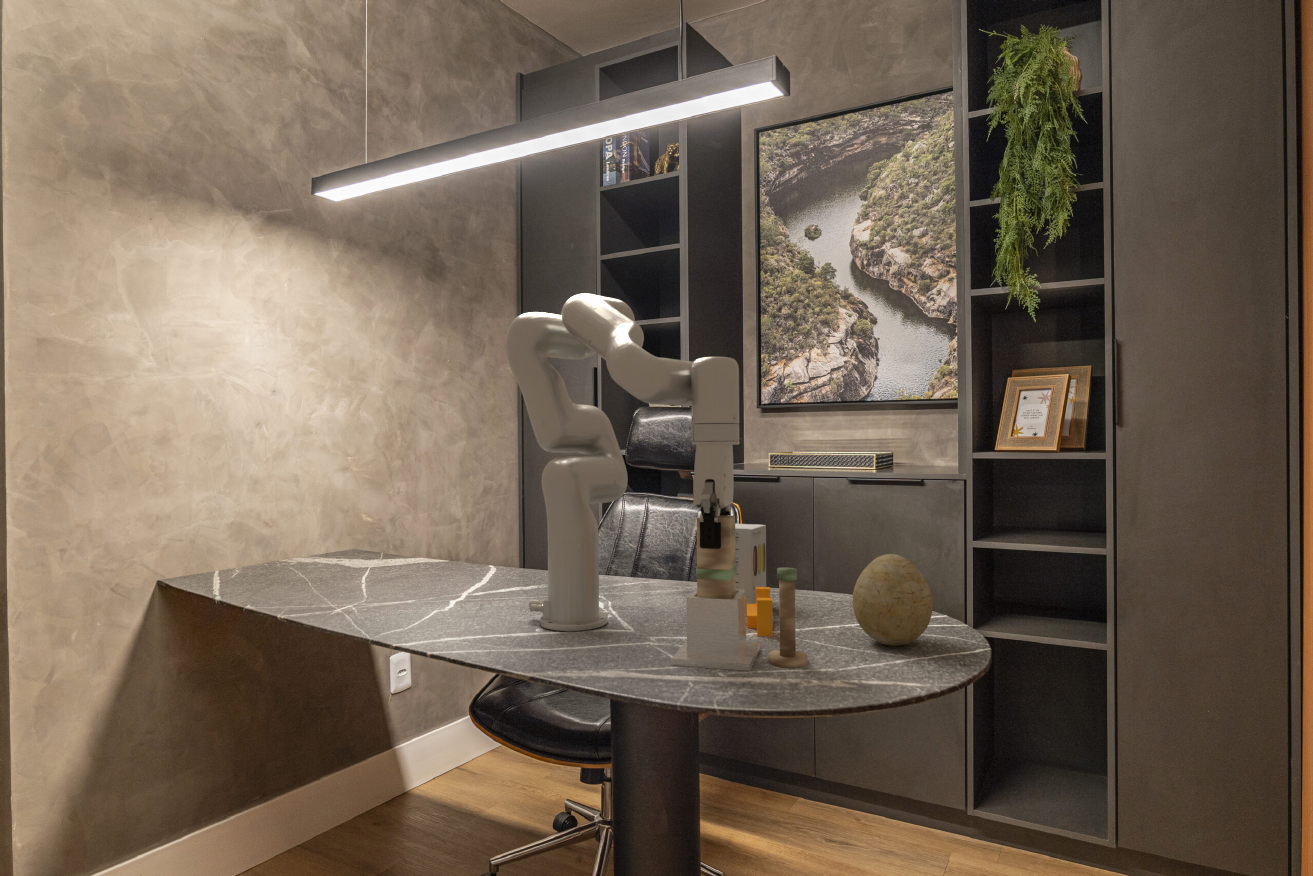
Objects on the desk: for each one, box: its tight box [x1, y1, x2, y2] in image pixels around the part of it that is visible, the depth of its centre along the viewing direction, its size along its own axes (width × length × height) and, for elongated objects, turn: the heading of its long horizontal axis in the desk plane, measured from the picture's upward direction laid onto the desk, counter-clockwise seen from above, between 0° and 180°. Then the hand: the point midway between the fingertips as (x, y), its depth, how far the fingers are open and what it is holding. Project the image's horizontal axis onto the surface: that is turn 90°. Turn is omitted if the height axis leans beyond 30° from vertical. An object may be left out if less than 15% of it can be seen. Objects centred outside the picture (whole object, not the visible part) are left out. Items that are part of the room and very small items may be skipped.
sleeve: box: [670, 587, 761, 672], centre depth 118 cm, size 12×12×10 cm
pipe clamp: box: [746, 586, 773, 638], centre depth 137 cm, size 12×4×6 cm, turn 174°
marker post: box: [767, 567, 809, 669], centre depth 115 cm, size 6×6×14 cm
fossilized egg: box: [852, 553, 934, 647], centre depth 125 cm, size 13×13×15 cm
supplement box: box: [735, 523, 767, 615], centre depth 153 cm, size 10×9×17 cm
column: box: [695, 515, 737, 598], centre depth 118 cm, size 6×6×15 cm
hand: (716, 544), depth 118 cm, fingers open, 9 cm apart
